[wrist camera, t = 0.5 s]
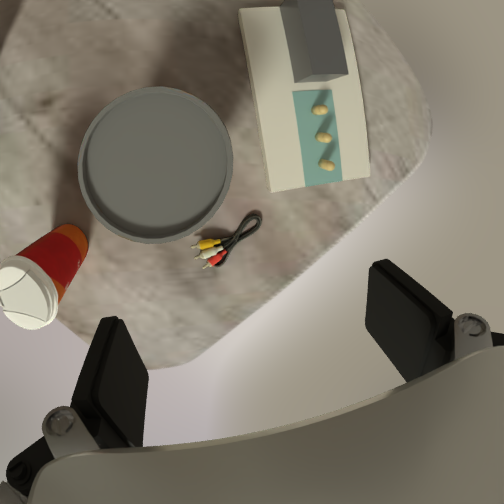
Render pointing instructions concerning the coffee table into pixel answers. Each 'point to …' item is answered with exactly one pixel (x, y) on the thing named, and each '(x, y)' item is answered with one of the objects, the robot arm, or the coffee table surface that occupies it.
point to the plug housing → (313, 40)
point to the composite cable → (224, 243)
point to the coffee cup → (41, 276)
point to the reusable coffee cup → (155, 165)
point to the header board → (303, 109)
